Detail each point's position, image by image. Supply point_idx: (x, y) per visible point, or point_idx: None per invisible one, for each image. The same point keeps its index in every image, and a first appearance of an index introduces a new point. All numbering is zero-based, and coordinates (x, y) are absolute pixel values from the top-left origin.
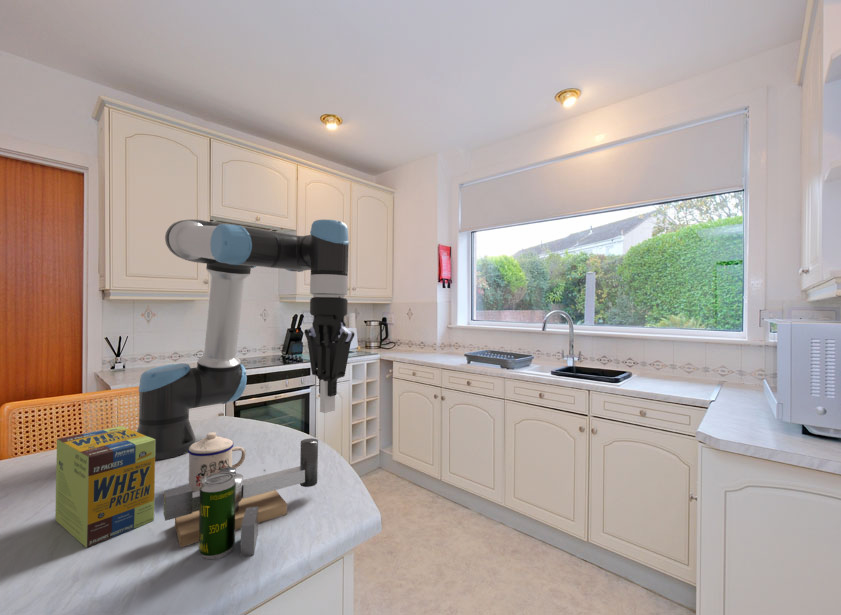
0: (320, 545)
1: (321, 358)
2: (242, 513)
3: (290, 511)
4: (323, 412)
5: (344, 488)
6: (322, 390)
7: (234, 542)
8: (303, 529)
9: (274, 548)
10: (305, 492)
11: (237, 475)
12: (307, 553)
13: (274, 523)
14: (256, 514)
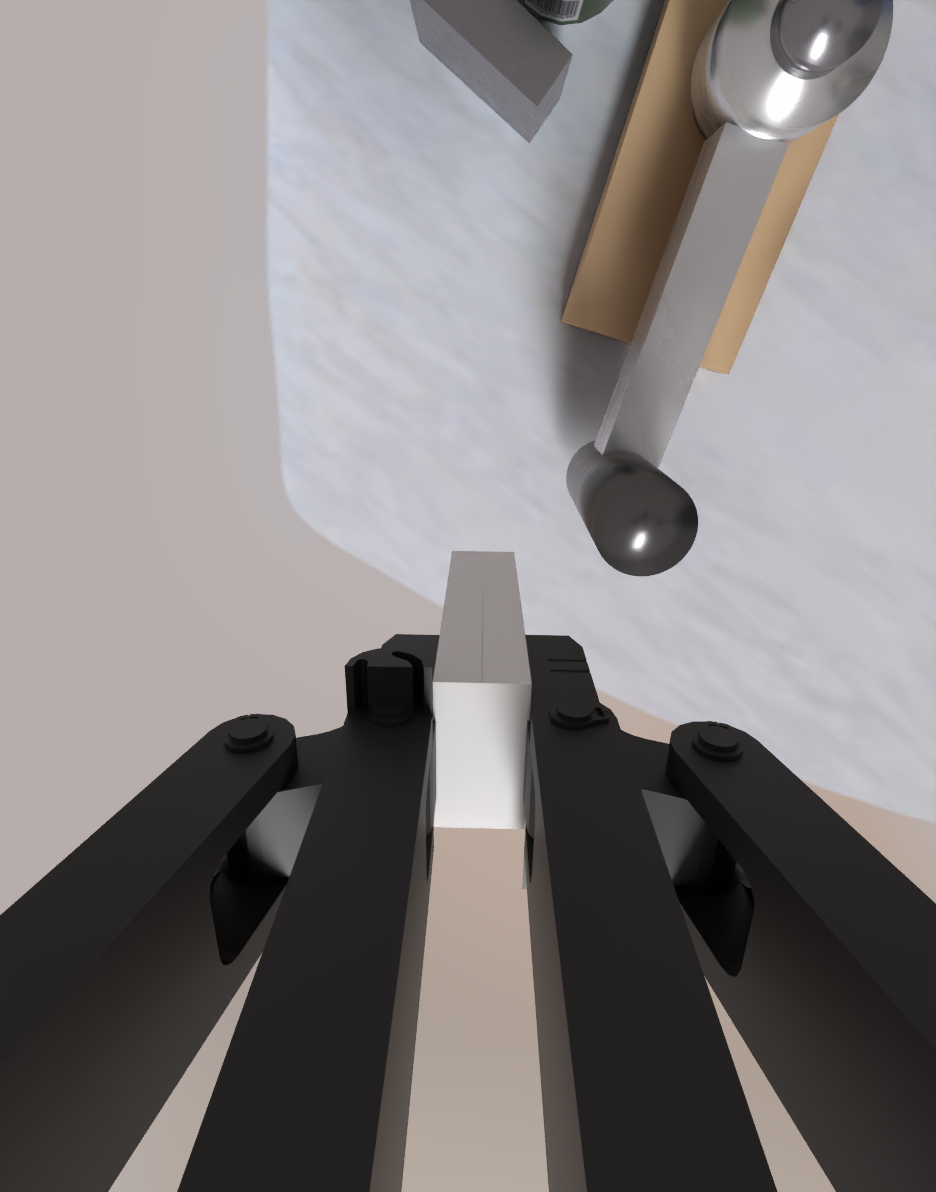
0: (284, 260)
1: (554, 939)
2: (659, 131)
3: (565, 344)
4: (468, 552)
5: (529, 599)
6: (484, 627)
7: (523, 3)
8: (416, 290)
9: (396, 128)
10: None
11: (799, 106)
12: (278, 194)
13: (543, 241)
14: (477, 50)
